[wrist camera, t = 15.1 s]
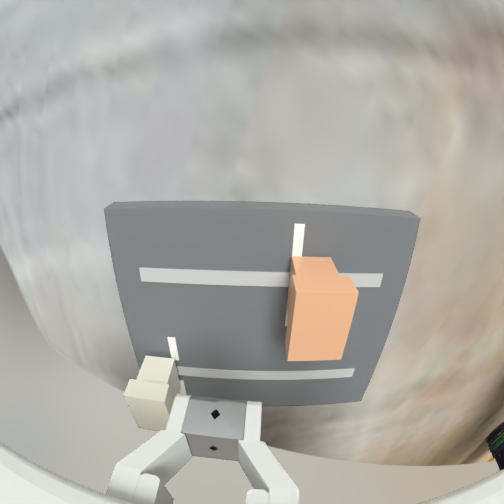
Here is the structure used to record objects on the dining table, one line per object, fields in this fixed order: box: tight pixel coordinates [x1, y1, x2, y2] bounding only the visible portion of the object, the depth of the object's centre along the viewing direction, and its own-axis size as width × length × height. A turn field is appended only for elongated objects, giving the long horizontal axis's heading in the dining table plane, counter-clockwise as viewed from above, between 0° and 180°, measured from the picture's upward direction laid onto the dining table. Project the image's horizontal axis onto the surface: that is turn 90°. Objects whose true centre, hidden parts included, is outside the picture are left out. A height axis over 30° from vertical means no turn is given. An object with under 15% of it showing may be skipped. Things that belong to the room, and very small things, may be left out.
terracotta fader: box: [285, 256, 359, 361], centre depth 16 cm, size 3×4×5 cm
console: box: [104, 201, 420, 406], centre depth 21 cm, size 20×18×2 cm
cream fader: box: [123, 356, 181, 431], centre depth 20 cm, size 3×4×5 cm
